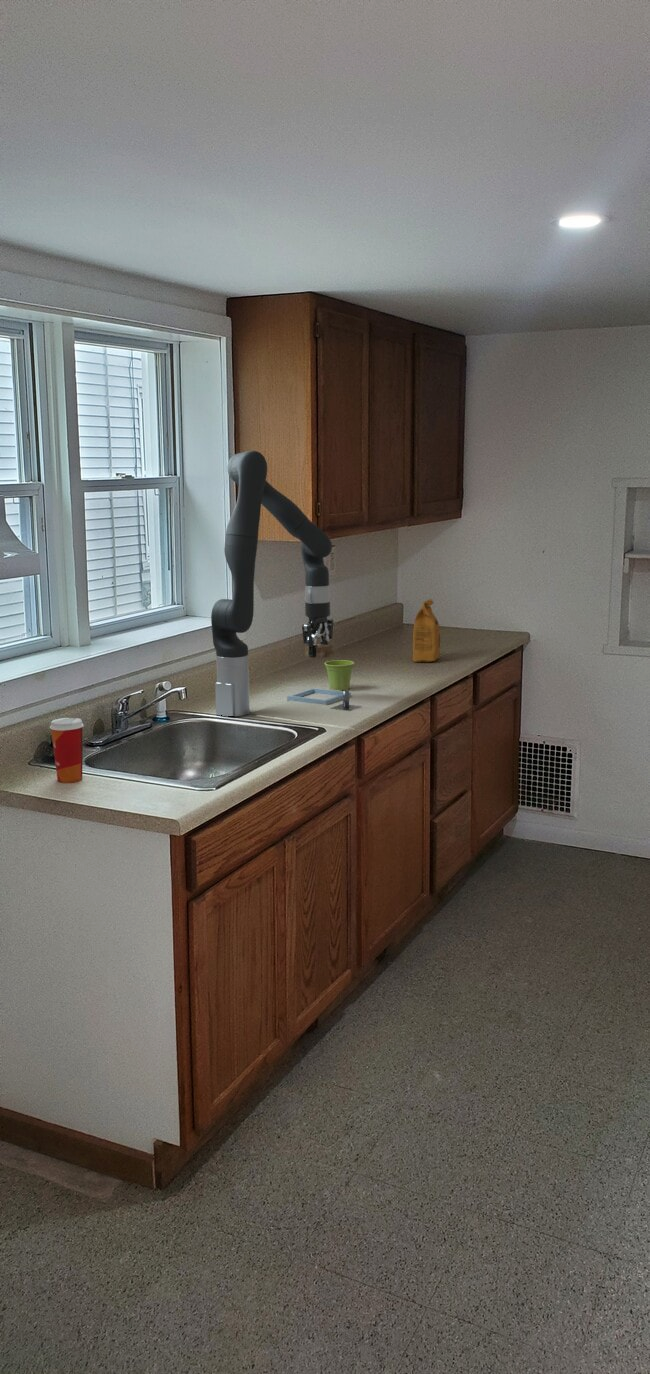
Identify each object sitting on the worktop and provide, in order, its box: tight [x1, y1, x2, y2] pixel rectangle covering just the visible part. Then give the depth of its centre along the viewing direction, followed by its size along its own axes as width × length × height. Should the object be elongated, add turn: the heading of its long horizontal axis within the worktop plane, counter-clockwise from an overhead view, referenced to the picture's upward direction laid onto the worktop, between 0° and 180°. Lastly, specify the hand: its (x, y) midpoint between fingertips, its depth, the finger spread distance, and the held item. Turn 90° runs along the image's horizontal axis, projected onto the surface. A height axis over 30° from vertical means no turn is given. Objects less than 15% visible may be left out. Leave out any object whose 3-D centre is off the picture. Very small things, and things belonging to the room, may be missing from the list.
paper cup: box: [49, 717, 85, 784], centre depth 254 cm, size 8×8×14 cm
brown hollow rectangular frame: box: [304, 643, 335, 659], centre depth 333 cm, size 8×6×3 cm
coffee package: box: [412, 598, 441, 663], centre depth 401 cm, size 10×12×22 cm
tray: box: [286, 687, 352, 706], centre depth 336 cm, size 14×14×2 cm
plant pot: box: [323, 659, 355, 691], centre depth 353 cm, size 9×9×9 cm
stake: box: [329, 689, 363, 712], centre depth 323 cm, size 7×7×6 cm
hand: (318, 655), depth 334 cm, fingers closed on brown hollow rectangular frame, 6 cm apart
